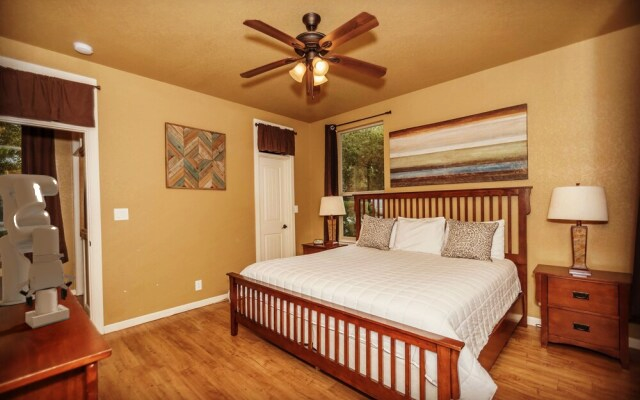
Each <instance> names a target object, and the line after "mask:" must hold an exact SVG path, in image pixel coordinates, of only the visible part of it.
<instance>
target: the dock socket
mask: <svg viewBox="0 0 640 400" xmlns="http://www.w3.org/2000/svg"><path fill="white" fill-rule="evenodd" d="M69 319H70V309H69V308H68V307H66V306H64V305H62V304H58V311H56V312H52V313H48V314H44V315H40V316H36V315H35V309H34V310H30V311H27V312H26V311H25V323H26V324H27V325H28V326H29V327H31V328H32V329H37V328H40V327H44V326H49V325H52V324H56V323H60V322H63V321H68V320H69Z"/></svg>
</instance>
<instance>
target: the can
mask: <svg viewBox="0 0 640 400" xmlns="http://www.w3.org/2000/svg"><path fill="white" fill-rule="evenodd" d="M34 295H35V299H34V310H35V315H36V316H40V315H44V314H48V313H52V312H56V311H58V305H59V303H58V302H59V300H58V289H57V287H53V288H47V289H42V290H37V291H35V292H34Z"/></svg>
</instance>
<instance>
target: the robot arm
mask: <svg viewBox="0 0 640 400" xmlns="http://www.w3.org/2000/svg"><path fill="white" fill-rule="evenodd" d="M59 189H60V185H59V183H58V181H57V179H56V178H54V177H53V176H50V175H45V174H44V175H41V174H25V173H22V174H21V173H6V174H0V196H1V199H2V204H3V206H2V208H3V211H2V212H3V214H2V216H3V217H2V218H3V219H2V221H3V222H2V224H3V227H4V229H6V230H7V234H5V235H3V236H1V237H0V259H1V280H2V281H1V282H2V283H1V284H2V286H1V287H2V291H1V292H2V299H1V300H0V306H12V305H19V304H23V303H25V305H26V306H28V308H33V307H34V304H33V300H35V293H36V291H37V290H42V289H47V288H53V287H56V288H57V287H60V288H61V289H60V300H62V301H65V300H66V298H67V297H68V289H69V288H70V286H72V284H73V282H74V281H75V279H76V276H73V275H70V274H66V273H65V270H64V265H63V262H62V260H61V258H64V257H65V254H64V253H60V236H59V233H60V231H59V228H58V227H57V226H55V225H53V224H51V216H50V214H49V212H48V211H47V210H45V209H46V208H47V204H46V200H45V196H47V197H48V196H49V197H51V196H52V197H53V196H56V195H57V194H58V193H59ZM26 253H32V263H31V260H30V259H29V258H28V257H26V256H25V255H24V254H26ZM65 279H69V280H68V281H66V280H65ZM65 281H66V283H65ZM33 293H34V294H33Z"/></svg>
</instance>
